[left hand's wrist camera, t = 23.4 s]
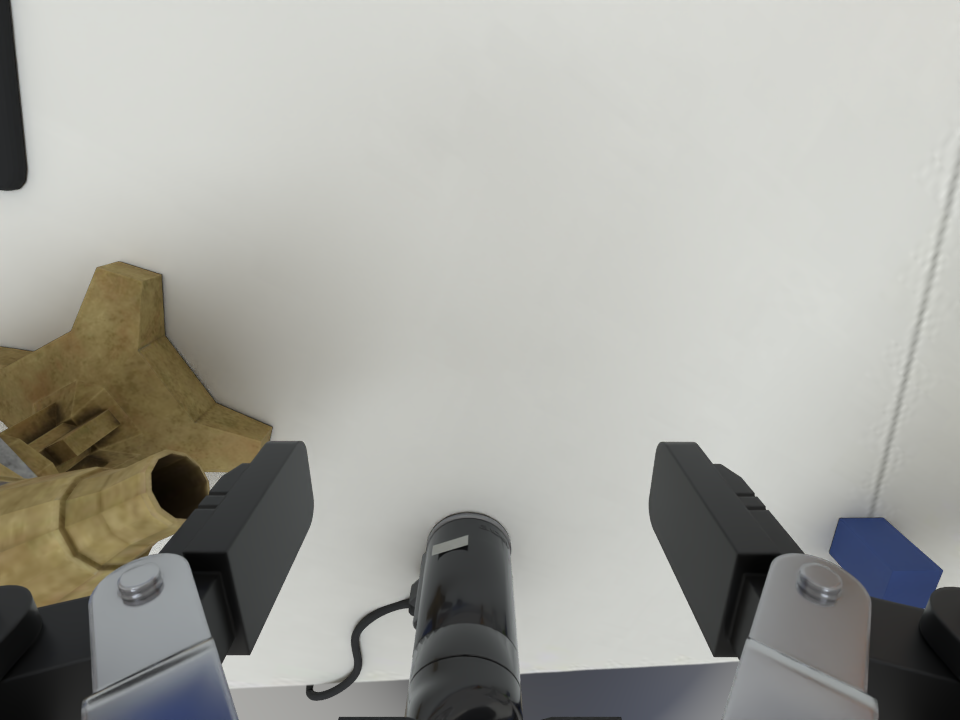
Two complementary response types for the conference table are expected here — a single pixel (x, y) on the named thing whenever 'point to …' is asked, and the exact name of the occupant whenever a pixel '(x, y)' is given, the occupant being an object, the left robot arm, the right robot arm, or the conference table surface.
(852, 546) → the block
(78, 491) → the telescope
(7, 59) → the keyboard
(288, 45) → the conference table surface
